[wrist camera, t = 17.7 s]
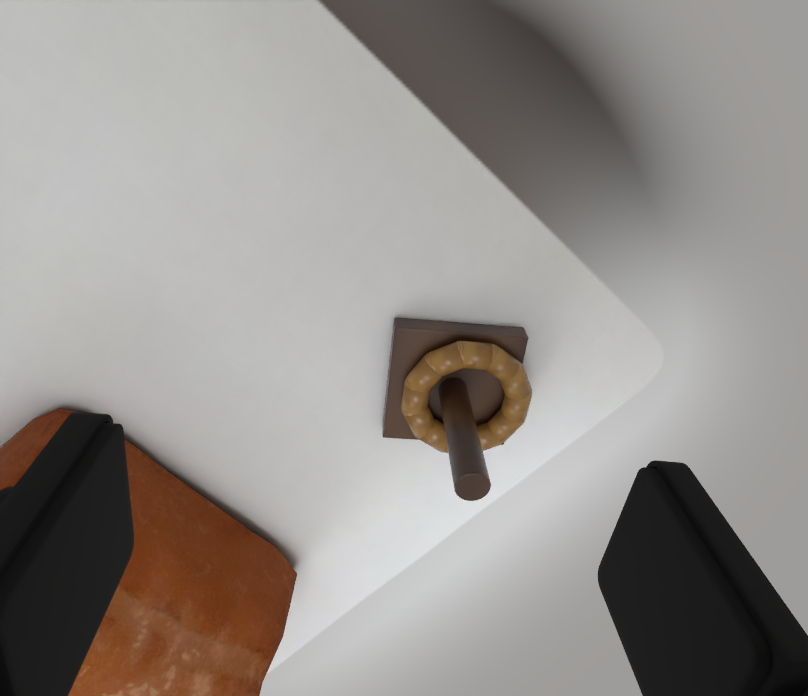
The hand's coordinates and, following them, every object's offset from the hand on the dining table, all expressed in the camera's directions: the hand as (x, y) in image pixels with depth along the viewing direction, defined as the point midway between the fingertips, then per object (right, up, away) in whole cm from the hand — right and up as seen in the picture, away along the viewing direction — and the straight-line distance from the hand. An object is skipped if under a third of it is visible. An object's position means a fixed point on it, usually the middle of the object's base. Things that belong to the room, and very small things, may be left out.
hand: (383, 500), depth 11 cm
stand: (+4, +1, +32) cm, 32 cm away
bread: (-22, -13, +39) cm, 46 cm away
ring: (+5, -1, +30) cm, 31 cm away
